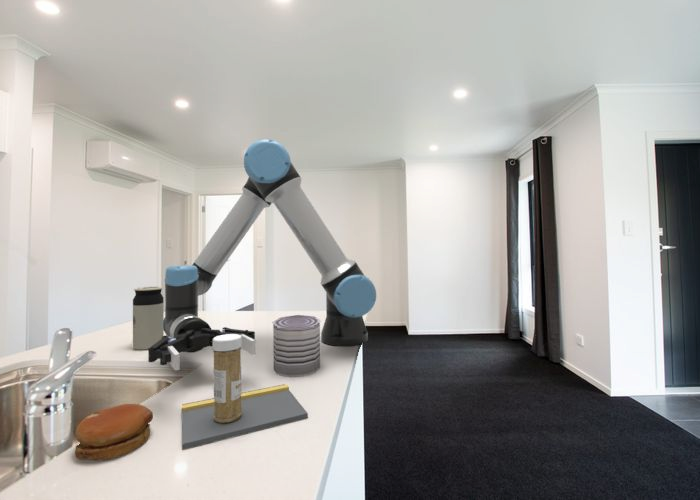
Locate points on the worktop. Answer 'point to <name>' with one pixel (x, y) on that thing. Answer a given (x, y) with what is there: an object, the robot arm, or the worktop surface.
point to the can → (296, 345)
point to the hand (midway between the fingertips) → (218, 354)
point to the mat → (256, 415)
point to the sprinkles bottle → (227, 377)
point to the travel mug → (147, 317)
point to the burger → (113, 431)
